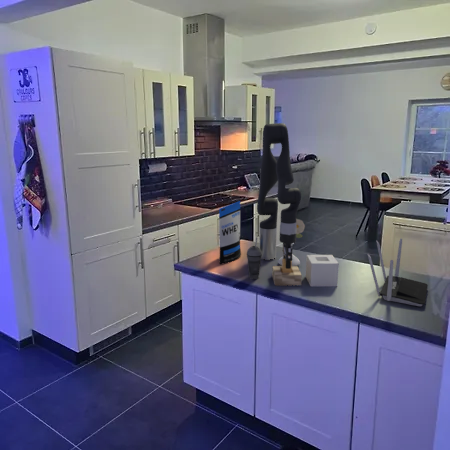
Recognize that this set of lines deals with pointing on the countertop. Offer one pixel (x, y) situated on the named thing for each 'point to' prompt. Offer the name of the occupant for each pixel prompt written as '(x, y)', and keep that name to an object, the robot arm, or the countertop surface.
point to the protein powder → (229, 233)
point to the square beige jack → (286, 276)
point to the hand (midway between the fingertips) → (286, 265)
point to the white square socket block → (322, 270)
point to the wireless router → (399, 284)
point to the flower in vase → (299, 230)
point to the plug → (285, 266)
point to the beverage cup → (254, 261)
